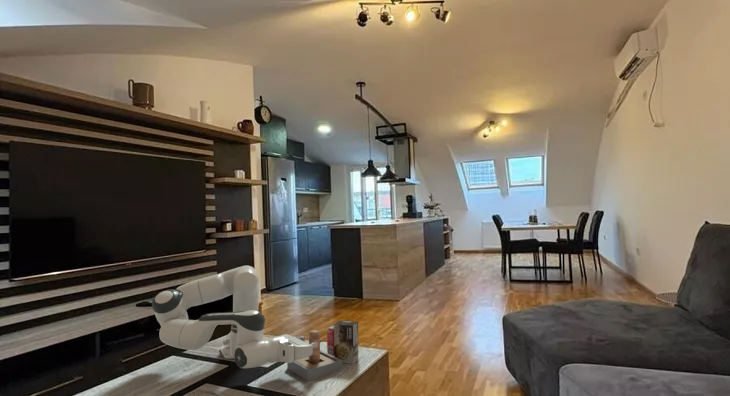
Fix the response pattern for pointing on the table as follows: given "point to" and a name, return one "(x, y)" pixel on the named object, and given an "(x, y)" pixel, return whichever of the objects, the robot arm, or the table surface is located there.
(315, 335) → the peg
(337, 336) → the coffee box
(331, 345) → the soda can
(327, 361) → the peg box
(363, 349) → the table surface
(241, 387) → the table surface
